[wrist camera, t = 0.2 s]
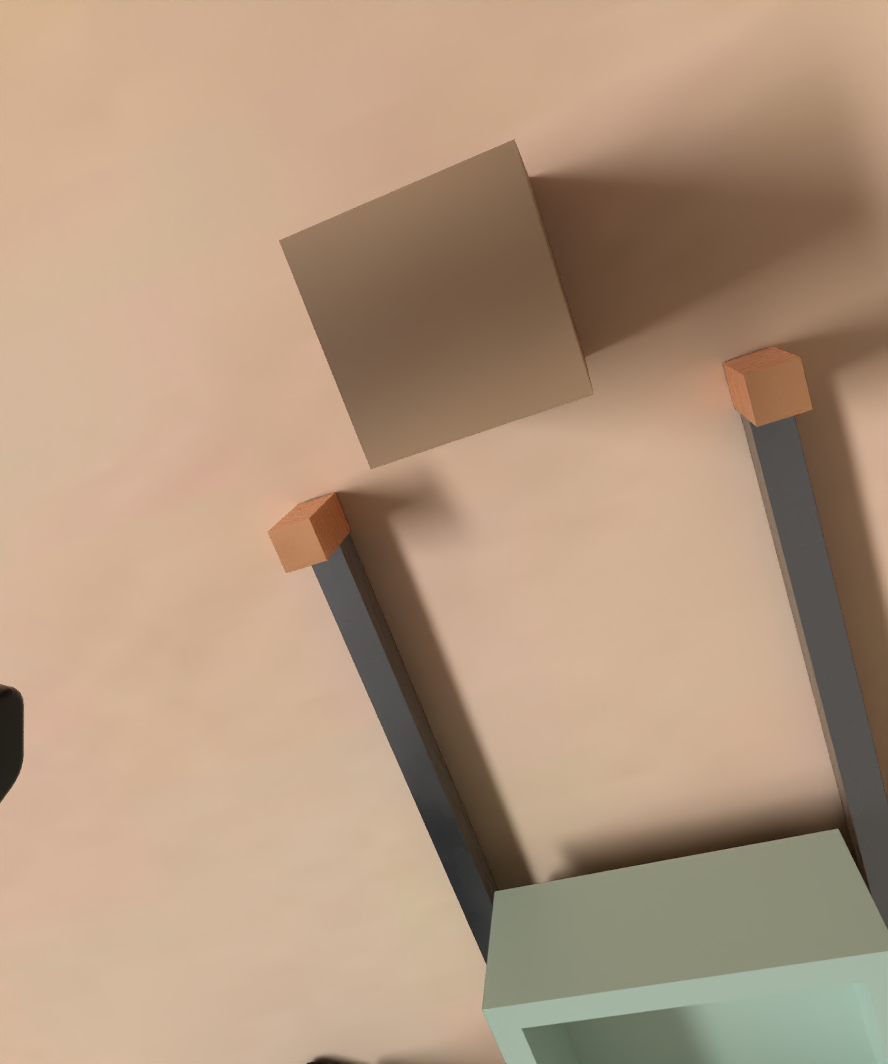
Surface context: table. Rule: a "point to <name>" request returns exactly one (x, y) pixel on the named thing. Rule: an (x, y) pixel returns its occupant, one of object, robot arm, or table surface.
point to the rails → (768, 418)
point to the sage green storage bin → (694, 962)
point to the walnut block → (441, 308)
